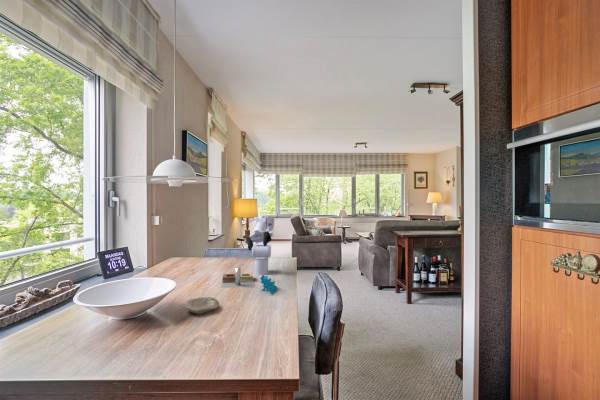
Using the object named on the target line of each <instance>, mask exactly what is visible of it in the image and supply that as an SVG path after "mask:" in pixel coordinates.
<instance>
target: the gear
mask: <svg viewBox="0 0 600 400" xmlns="http://www.w3.org/2000/svg"><path fill="white" fill-rule="evenodd" d="M260 276H261V277H259V280H260V283H261V284H262V285H261V286H262V287H263V288H262V289H261V290H260V291H261V292H264V291H266V292H269V293H270V294H271V295H273V294H276V293H277V292H279V290H278V286H277V285H275V283H276V281H275V280H272V278H271V277H268V275H260Z"/></svg>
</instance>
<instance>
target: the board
mask: <svg viewBox="0 0 600 400" xmlns="http://www.w3.org/2000/svg"><path fill="white" fill-rule="evenodd" d="M254 281H255V279H254V276H253V282H241V285H239V286H236V285H235V282H232V283H223V282H222V284H221V288H243V287H244V288H245V287H246V288H247V287H255V282H254Z"/></svg>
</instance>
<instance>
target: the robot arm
mask: <svg viewBox="0 0 600 400" xmlns="http://www.w3.org/2000/svg"><path fill="white" fill-rule="evenodd" d="M254 226H255V228H254V232H253V233H252V234H251V235H249V236H246V237H245V238H244V243H245V245H246V244H247V248H248V251H250V252H251V251H252V253H251V255H252V258H253V259H254V274H255V275H256V276H257V275H258V276H262V275H264V276H266V275H268V274H269V258H271V256H272V246H271V244H269V243H270V242H271V241H272V237H273V236H274V233H273V230H274V227H275V216H274V215H259V216H258V218H255V224H254ZM254 243H255V244H254Z"/></svg>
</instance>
